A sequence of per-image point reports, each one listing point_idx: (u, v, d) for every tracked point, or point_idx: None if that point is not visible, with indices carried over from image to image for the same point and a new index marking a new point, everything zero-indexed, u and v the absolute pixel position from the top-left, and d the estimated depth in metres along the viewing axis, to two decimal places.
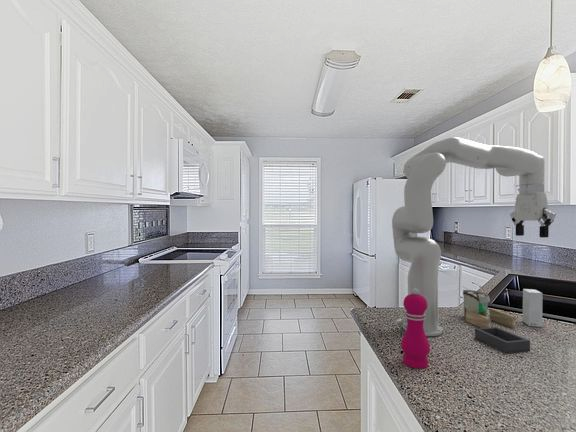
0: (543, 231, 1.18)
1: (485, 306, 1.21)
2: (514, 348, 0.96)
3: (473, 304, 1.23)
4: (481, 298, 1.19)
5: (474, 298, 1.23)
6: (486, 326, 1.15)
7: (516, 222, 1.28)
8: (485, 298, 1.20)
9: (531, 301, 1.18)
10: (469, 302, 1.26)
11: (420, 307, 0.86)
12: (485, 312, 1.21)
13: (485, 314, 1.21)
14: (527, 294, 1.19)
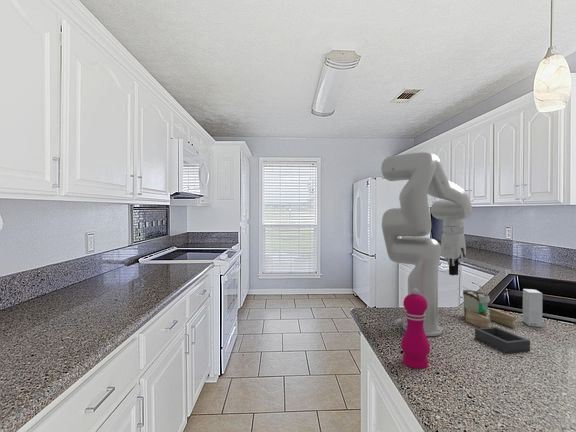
0: (453, 270, 1.38)
1: (485, 306, 1.21)
2: (514, 348, 0.96)
3: (473, 304, 1.23)
4: (481, 298, 1.19)
5: (474, 298, 1.23)
6: (486, 326, 1.15)
7: (448, 261, 1.40)
8: (485, 298, 1.20)
9: (531, 301, 1.18)
10: (469, 302, 1.26)
11: (420, 307, 0.86)
12: (485, 312, 1.21)
13: (485, 314, 1.21)
14: (527, 294, 1.19)
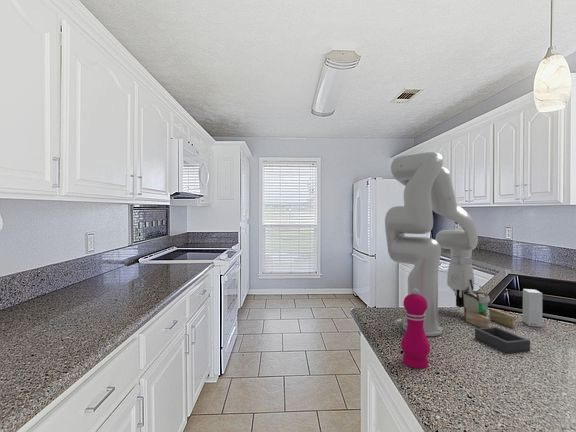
0: (461, 302, 1.33)
1: (485, 306, 1.21)
2: (514, 348, 0.96)
3: (473, 304, 1.23)
4: (481, 298, 1.19)
5: (474, 298, 1.23)
6: (486, 326, 1.15)
7: (456, 292, 1.35)
8: (485, 298, 1.20)
9: (531, 301, 1.18)
10: (469, 302, 1.26)
11: (420, 307, 0.86)
12: (485, 312, 1.21)
13: (485, 314, 1.21)
14: (527, 294, 1.19)
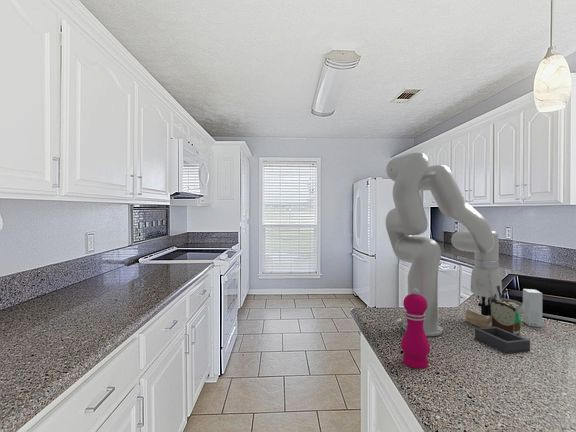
0: (486, 310, 1.21)
1: (521, 316, 1.09)
2: (514, 348, 0.96)
3: (506, 314, 1.11)
4: (518, 307, 1.07)
5: (508, 307, 1.11)
6: (486, 326, 1.15)
7: (481, 300, 1.23)
8: (521, 307, 1.08)
9: (531, 301, 1.18)
10: (500, 311, 1.14)
11: (420, 307, 0.86)
12: (520, 322, 1.09)
13: (520, 325, 1.09)
14: (527, 294, 1.19)
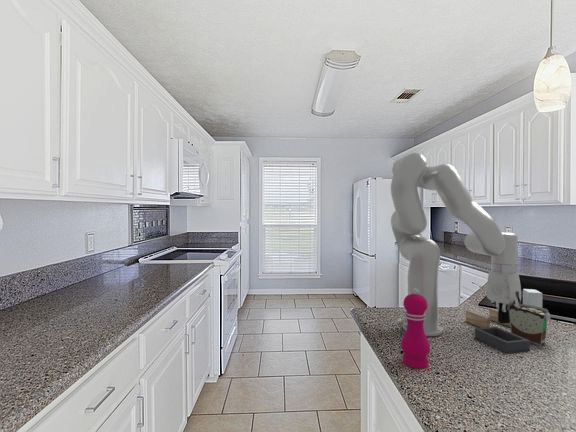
0: (504, 317, 1.13)
1: None
2: (514, 348, 0.96)
3: (531, 321, 1.04)
4: (546, 314, 1.00)
5: (533, 314, 1.03)
6: (486, 326, 1.15)
7: (497, 306, 1.15)
8: (548, 314, 1.01)
9: (531, 301, 1.18)
10: (522, 319, 1.06)
11: (420, 307, 0.86)
12: None
13: None
14: (527, 294, 1.19)
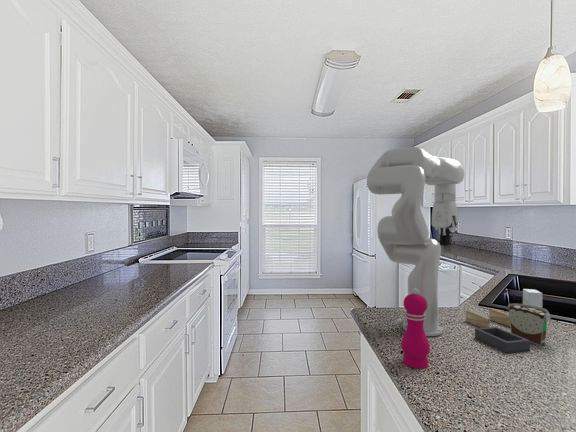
0: (444, 240, 1.32)
1: None
2: (514, 348, 0.96)
3: (531, 321, 1.04)
4: (546, 314, 1.00)
5: (533, 314, 1.03)
6: (486, 326, 1.15)
7: (440, 231, 1.34)
8: (548, 314, 1.01)
9: (531, 301, 1.18)
10: (522, 319, 1.06)
11: (420, 307, 0.86)
12: None
13: None
14: (527, 294, 1.19)
